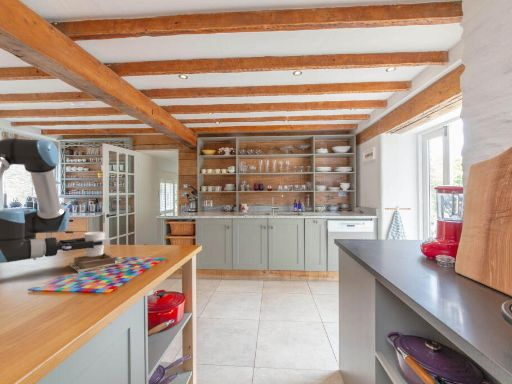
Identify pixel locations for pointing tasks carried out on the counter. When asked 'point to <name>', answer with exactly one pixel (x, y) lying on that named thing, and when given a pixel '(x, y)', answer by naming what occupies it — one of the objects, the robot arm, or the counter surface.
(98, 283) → the counter surface
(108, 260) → the cup holder
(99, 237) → the white cup
